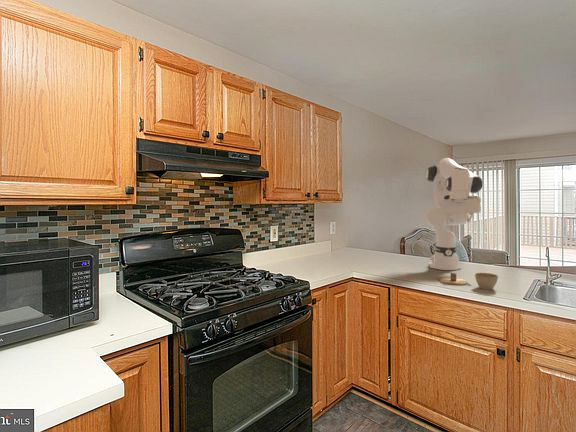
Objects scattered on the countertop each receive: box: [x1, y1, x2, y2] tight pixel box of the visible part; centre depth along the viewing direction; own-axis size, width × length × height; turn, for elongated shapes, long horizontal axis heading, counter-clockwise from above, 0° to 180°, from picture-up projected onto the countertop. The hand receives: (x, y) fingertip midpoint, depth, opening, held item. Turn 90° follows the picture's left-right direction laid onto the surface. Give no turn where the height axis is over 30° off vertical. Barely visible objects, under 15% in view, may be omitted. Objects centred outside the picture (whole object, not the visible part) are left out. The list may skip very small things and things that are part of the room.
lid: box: [439, 272, 468, 286], centre depth 184 cm, size 13×13×5 cm
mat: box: [436, 278, 473, 287], centre depth 184 cm, size 14×14×1 cm
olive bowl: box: [474, 272, 499, 291], centre depth 171 cm, size 10×10×7 cm
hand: (460, 221), depth 187 cm, fingers open, 8 cm apart
